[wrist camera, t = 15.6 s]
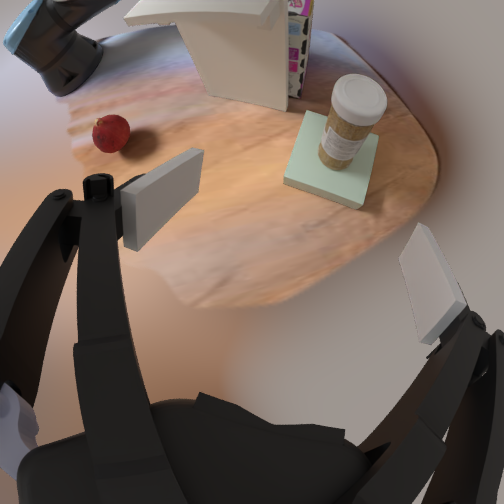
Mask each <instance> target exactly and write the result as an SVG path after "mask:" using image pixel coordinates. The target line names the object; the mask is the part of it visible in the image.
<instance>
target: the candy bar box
mask: <svg viewBox="0 0 504 504" xmlns="http://www.w3.org/2000/svg"><path fill="white" fill-rule="evenodd" d="M313 6H314V0H288V37H289V75H288V96H289V97H294V98H301V95H302V90H303V85H304V80H305V74H306V69H307V63H308V56H309V47H310V38H311V28H312V17H313Z"/></svg>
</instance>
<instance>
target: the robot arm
mask: <svg viewBox="0 0 504 504" xmlns="http://www.w3.org/2000/svg"><path fill="white" fill-rule="evenodd" d="M119 1H120V0H33V1H32V2H31V3H30V4H29V5H28V6H27V7H26V8H25V9H24V10H23V11H22V13H21V14H20V15H19V16H18V17H17V19H16V20H15V21H14V23H13V24H12V26H11V27H10V29H9V30H8V31H7V33H6V35H5V37H4V41H3V44H4V46H5V47H6V48H7V49H8V50H9V51H10V52H11V54H12V55H13V54H14V55H15V56H16V57H18V58H19V59H20V60H22V61H23V62H25V63H26V64H27V65H29V66H30V67H31V68H33V69H34V70H35V71H37V72H38V73H39V74H40V75H41V77H42V79H43V81H44V83H45V85H46V87H47V88H48V90H49V91H50V92H51V93H52V94H54V95H55V96H58V97H60V96H64V95H66V94H68V93H70V92H72V91H73V90H75V89H76V88H77V87H79V86H80V85H81V84H82V83H83V82H84V81H85V80H86V79H87V78H88V77H89V76H90V75H91V74H92V72H93V71H94V70H95V68H96V67H97V65H98V64H99V62H100V60H101V58H102V54H103V49H102V47H101V46H100V45H99V44H98V43H97V42H96V41H94V40H92V39H90V38H87V37H85V36H83V35H80V34H78V33H77V32H76V31H75V29H77V28H78V27H80V26H81V25H82V24H84V23H85V22H87V21H88V20H90V19H91V18H93V17H94V16H96V15H98V14H99V13H101V12H102V11H104V10H106V9H107V8H109V7H111V6H113V5H114V4H117V3H118V2H119ZM203 155H204V150H201V149H197V148H190V149H189V150H187V151H185V152H183V153H181V154H179V155H178V156H176V157H174V158H172V159H171V160H169V161H167V162H165V163H164V164H162V165H160V166H158V167H157V168H155V169H153V170H152V171H150V172H148V173H147V174H141V175H138V176H135V177H133V178H132V179H130V180H129V181H127V182H125V183H124V184H122V185H121V186H119V187H117V188H116V189H114V180H113V176H111V175H110V174H105V173H100V174H94V175H91V176H88V177H87V178H85V179H84V180H83V191H84V201H80V200H73V194H72V191H70V190H68V189H58V190H55V191H54V192H52V193H50V194H49V195H48V196H47V197H46V198H45V199H44V201H43V202H42V204H41V205H40V206H39V207H38V209H37V210H36V211H35V213H34V214H33V216H32V217H31V219H30V220H29V221H28V223H27V224H26V226H25V227H24V229H23V230H22V232H21V233H20V235H19V236H18V238H17V239H16V241H15V243H14V244H13V246H12V248H11V249H10V251H9V252H8V254H7V256H6V257H5V259H4V261H3V263H2V265H1V266H0V468H2V469H3V470H4V471H5V472H6V473H7V474H9V475H10V476H11V477H12V478H13V479H15V480H16V481H17V490H18V496H19V504H412V502H413V501H414V500H415V498H416V497H417V496H418V494H419V493H420V492H421V490H422V489H423V487H424V486H425V484H426V483H427V481H428V480H429V478H430V477H431V475H432V474H433V472H434V471H435V472H434V474H433V476H432V479H431V481H430V484H429V486H428V488H427V491H426V493H425V496H424V498H423V500H422V503H421V504H496V501H497V492H498V489H499V485H500V481H501V477H502V473H503V468H504V333H503V332H502V331H501V330H496V331H495V332H494V333H493V334H492V335H490V334H488V333H487V332H486V325H485V323H484V321H483V320H482V318H481V317H480V316H479V315H478V314H477V313H476V312H474V311H470V309H469V306H468V304H467V302H466V300H465V297H464V296H463V292H462V291H461V288H460V286H459V283H458V282H457V280H456V278H455V276H454V274H453V272H452V270H451V268H450V266H449V264H448V262H447V260H446V258H445V256H444V254H443V253H442V251H441V249H440V247H439V245H438V243H437V242H436V240H435V238H434V236H433V234H432V233H431V231H430V229H429V227H427V226H425V225H423V224H421V223H418V224H417V226H416V228H415V230H414V232H413V233H412V235H411V237H410V239H409V241H408V242H407V244H406V246H405V248H404V249H403V251H402V253H401V255H400V256H399V258H398V259H399V263H400V266H401V269H402V272H403V276H404V279H405V283H406V286H407V290H408V294H409V298H410V302H411V306H412V310H413V314H414V318H415V323H416V327H417V332H418V337H419V342H421V343H425V344H429V345H431V344H432V343H433V342H434V341H435V340H436V339H437V338H438V337H439V338H440V342H441V343H440V344H439V345H438V346H437V347H436V348H435V349H434V350H433V351H432V352H431V353H430V354H429V355H428V356H427V357H426V358H427V359H428V358H429V357H430V358H429V360H428V361H427V363H426V364H425V365H424V367H423V368H422V370H421V371H420V373H419V374H418V376H417V377H416V379H415V380H414V381H413V383H412V384H411V386H410V387H409V388H408V390H407V391H406V392H405V394H404V395H403V396H402V398H401V399H400V400H399V402H398V403H397V404H396V405H395V407H394V408H393V409H392V410H391V411H390V412H389V414H388V415H387V416H386V417H385V418H384V420H383V421H382V422H381V423H380V424H379V425H378V426H377V428H376V429H375V430H374V431H373V432H372V433H371V434H370V435H369V436H368V437H367V439H365V440H364V441H363V442H362V443H361V444H360V445H359V446H357V447H356V446H355V445H354V444H352V443H351V442H349V441H348V440H346V439H344V436H345V429H339V428H333V427H326V426H321V425H315V424H300V425H274V424H271V423H269V422H267V421H265V420H263V419H261V418H259V417H258V416H256V415H254V414H252V413H250V412H249V411H247V410H245V409H243V408H242V407H240V406H238V405H236V404H233V403H230V402H227V401H224V400H221V399H218V398H215V397H212V396H210V395H207V394H204V393H201V392H199V394H198V397H197V399H196V400H193V399H169V400H164V401H160V402H156V403H153V404H150V401H149V398H148V395H147V392H146V389H145V385H144V382H143V378H142V375H141V371H140V367H139V363H138V359H137V356H136V351H135V347H134V342H133V338H132V334H131V328H130V324H129V318H128V313H127V308H126V302H125V296H124V289H123V283H122V275H121V268H120V259H119V250H118V240H119V239H120V238H121V237H122V236H123V242H124V247H126V248H129V249H131V250H134V251H136V252H138V251H139V250H140V249H141V248H142V247H143V246H144V245H145V244H146V243H147V242H148V241H149V240H150V239H151V238H152V237H153V236H154V235H155V234H156V233H157V232H158V231H159V230H160V229H161V228H162V227H163V226H164V225H165V224H166V223H167V222H168V221H169V220H170V219H171V218H172V217H173V216H174V215H175V214H176V213H177V212H178V211H179V210H180V209H181V208H182V207H183V206H184V205H185V204H186V203H187V202H188V201H189V200H191V199H192V198H193V197H194V196H195V195H196V194H197V193H198V191H199V183H200V176H201V168H202V161H203ZM78 247H79V251H78V267H77V326H78V343H75V344H74V347H73V357H74V367H75V377H76V384H77V391H78V398H79V404H80V409H81V415H82V420H83V424H84V429H85V432H82V433H79V434H76V435H73V436H70V437H67V438H64V439H62V440H58V441H55V442H52V443H49V444H45V445H42V446H39V447H38V445H37V443H36V439H35V436H36V435H37V434H38V431H39V426H38V424H37V421H36V416H35V413H34V410H33V406H34V403H35V399H36V396H37V392H38V386H39V382H40V376H41V371H42V365H43V360H44V356H45V351H46V347H47V342H48V338H49V334H50V330H51V326H52V323H53V319H54V316H55V312H56V309H57V305H58V302H59V299H60V296H61V293H62V290H63V287H64V284H65V281H66V278H67V275H68V273H69V270H70V267H71V265H72V262H73V259H74V257H75V255H76V252H77V250H78ZM485 372H486V373H485ZM484 373H485V374H484ZM483 374H484V375H483ZM482 375H483V376H482ZM449 425H450V426H449ZM448 427H449V430H448V433H447V437H446V440H445V443H444V441H443V440H442V438H443V437H444V435H445V433H446V431H447V429H448Z"/></svg>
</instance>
